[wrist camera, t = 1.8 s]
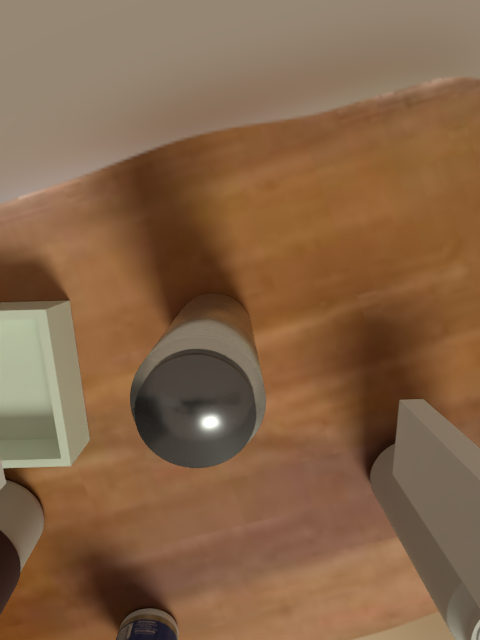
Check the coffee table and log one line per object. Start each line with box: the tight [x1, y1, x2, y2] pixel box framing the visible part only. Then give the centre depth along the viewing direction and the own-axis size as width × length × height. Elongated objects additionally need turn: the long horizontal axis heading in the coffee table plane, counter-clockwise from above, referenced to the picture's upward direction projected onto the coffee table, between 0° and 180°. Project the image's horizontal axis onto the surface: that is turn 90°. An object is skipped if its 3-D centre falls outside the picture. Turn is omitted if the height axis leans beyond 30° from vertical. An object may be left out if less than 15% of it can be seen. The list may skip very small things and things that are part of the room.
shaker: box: [130, 293, 266, 468], centre depth 19 cm, size 6×6×12 cm
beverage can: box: [370, 444, 480, 640], centre depth 22 cm, size 6×6×12 cm
